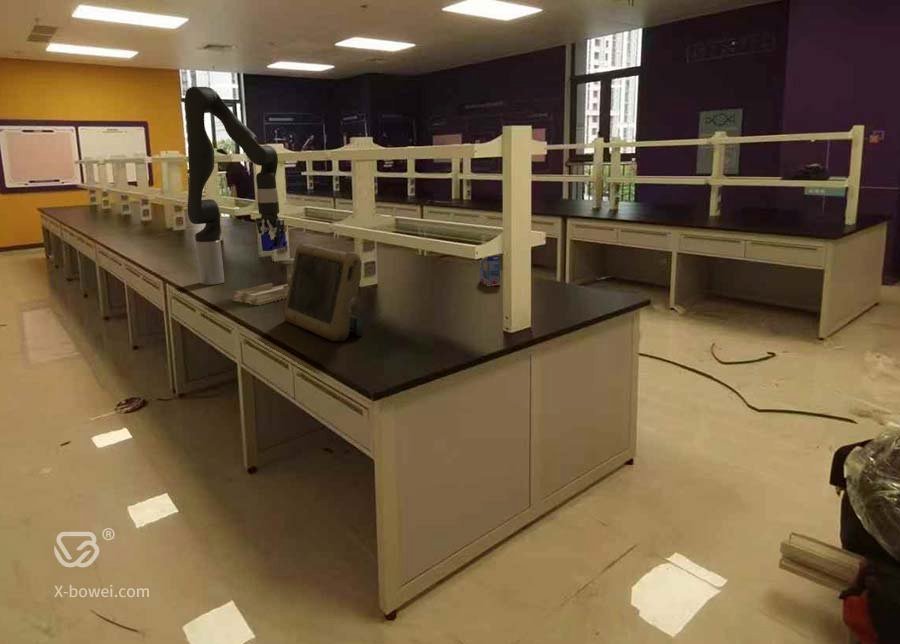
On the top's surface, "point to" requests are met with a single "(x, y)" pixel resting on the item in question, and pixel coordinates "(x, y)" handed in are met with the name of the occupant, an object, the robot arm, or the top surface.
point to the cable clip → (272, 242)
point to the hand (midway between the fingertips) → (272, 245)
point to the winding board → (266, 290)
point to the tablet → (324, 291)
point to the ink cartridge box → (490, 270)
